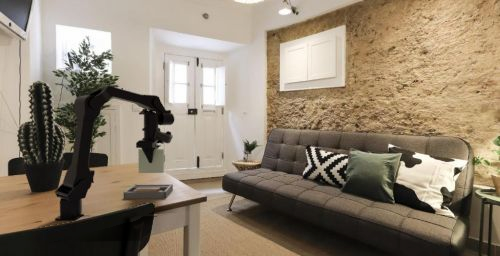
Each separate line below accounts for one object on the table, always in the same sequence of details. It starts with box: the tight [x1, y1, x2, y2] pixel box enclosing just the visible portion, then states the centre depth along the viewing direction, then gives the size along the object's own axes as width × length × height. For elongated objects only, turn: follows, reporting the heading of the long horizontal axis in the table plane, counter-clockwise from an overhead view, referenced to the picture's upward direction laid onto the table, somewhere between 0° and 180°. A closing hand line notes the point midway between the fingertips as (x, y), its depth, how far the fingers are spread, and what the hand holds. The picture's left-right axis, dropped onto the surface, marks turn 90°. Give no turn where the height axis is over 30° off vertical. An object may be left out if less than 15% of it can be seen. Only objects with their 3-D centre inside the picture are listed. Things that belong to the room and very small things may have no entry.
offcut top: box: [133, 188, 160, 192], centre depth 107 cm, size 5×9×1 cm, turn 94°
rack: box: [123, 183, 174, 200], centre depth 109 cm, size 12×16×3 cm
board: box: [137, 148, 165, 174], centre depth 112 cm, size 2×10×10 cm, turn 94°
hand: (151, 162), depth 112 cm, fingers closed on board, 2 cm apart
